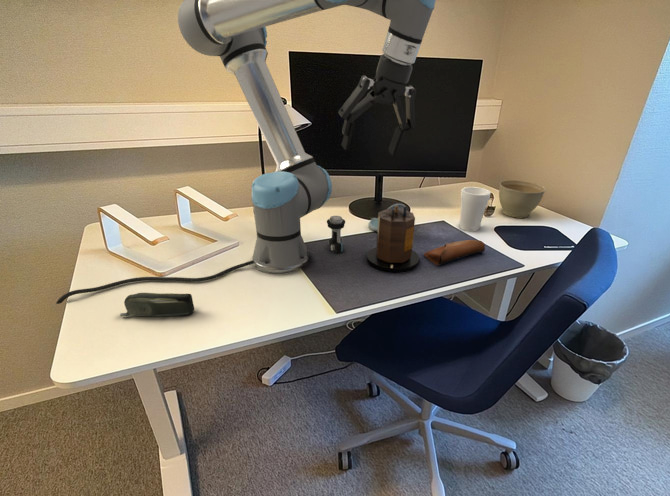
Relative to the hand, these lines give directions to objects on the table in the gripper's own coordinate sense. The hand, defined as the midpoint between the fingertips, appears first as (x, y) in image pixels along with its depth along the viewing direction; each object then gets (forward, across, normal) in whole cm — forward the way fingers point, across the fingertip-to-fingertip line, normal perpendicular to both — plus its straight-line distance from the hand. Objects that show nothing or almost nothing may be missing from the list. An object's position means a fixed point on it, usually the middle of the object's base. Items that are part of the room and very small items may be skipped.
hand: (368, 150), depth 100 cm
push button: (+31, -2, -1) cm, 31 cm away
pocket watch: (+30, +20, +8) cm, 37 cm away
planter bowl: (+21, +74, +5) cm, 77 cm away
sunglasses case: (+22, +29, -17) cm, 40 cm away
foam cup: (+23, +48, -1) cm, 53 cm away
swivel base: (+25, +10, -14) cm, 31 cm away
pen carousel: (+24, +10, -13) cm, 29 cm away
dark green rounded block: (+34, -50, -19) cm, 63 cm away
